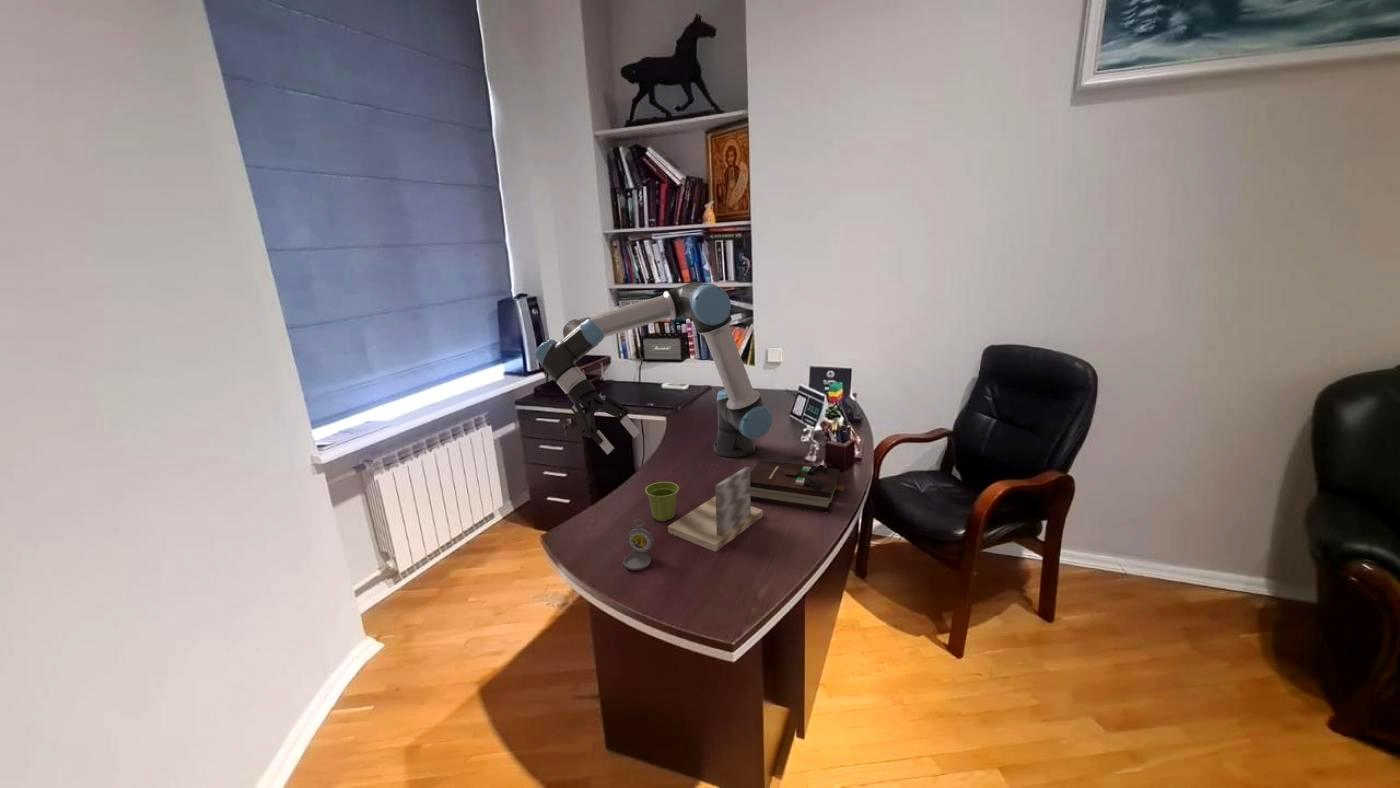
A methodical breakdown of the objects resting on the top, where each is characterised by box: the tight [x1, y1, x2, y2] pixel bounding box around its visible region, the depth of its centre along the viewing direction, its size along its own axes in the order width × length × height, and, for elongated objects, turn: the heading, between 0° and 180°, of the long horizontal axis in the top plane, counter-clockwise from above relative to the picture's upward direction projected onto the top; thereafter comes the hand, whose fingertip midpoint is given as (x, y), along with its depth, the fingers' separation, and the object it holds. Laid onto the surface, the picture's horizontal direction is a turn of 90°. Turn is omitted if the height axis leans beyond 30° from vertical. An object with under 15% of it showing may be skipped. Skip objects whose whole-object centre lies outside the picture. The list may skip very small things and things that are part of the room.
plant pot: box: [644, 481, 680, 522], centre depth 154 cm, size 9×9×9 cm
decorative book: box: [750, 459, 846, 514], centre depth 164 cm, size 19×8×30 cm
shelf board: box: [667, 466, 764, 553], centre depth 147 cm, size 22×16×16 cm
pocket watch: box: [622, 518, 654, 571], centre depth 133 cm, size 8×8×10 cm
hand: (624, 443), depth 153 cm, fingers open, 13 cm apart
